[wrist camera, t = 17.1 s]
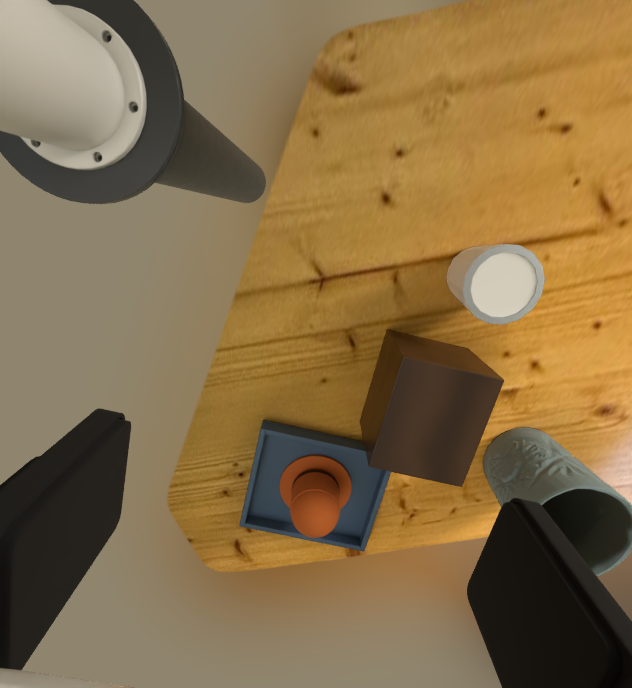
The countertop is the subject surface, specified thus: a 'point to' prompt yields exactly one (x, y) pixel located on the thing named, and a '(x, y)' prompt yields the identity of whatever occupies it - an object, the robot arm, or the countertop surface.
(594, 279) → the countertop surface
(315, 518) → the hat
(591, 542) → the grey-green cup
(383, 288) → the countertop surface
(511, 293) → the shot glass
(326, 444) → the tray
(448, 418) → the stand block
